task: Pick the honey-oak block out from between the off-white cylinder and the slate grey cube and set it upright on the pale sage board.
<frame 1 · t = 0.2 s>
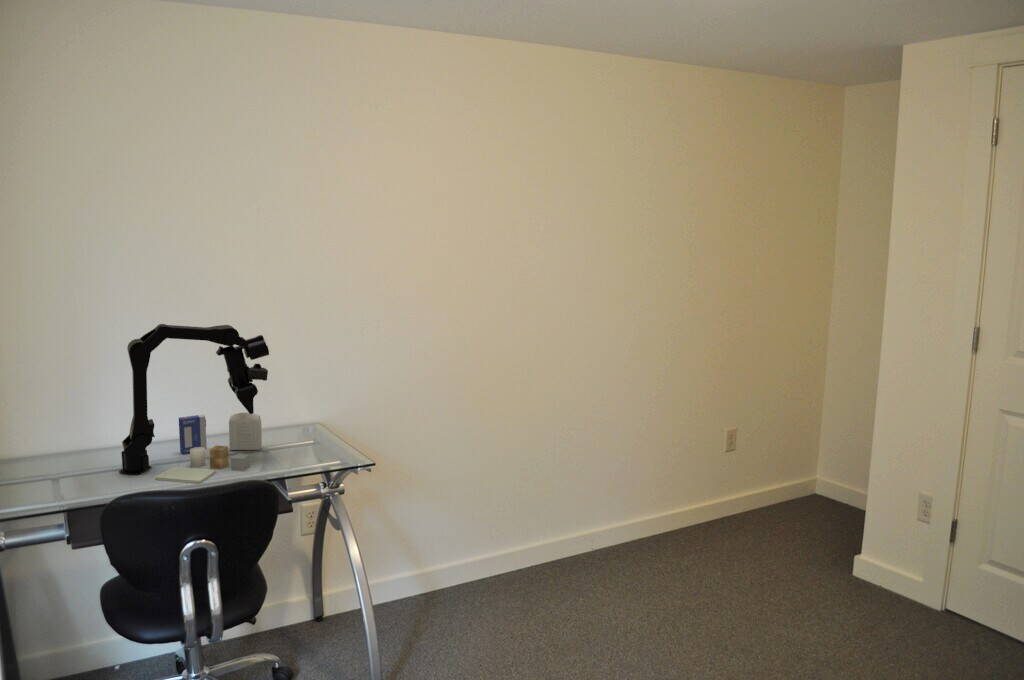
hand: (249, 409, 241), 15 cm above the table, tool pointing down, fingers open, 9 cm apart
grey cube: (240, 468, 232), on the table
oak block: (219, 466, 233), on the table
walkman: (193, 451, 245), on the table
white cylinder: (198, 464, 234), on the table
sage board: (186, 476, 223), on the table
photo printer: (245, 449, 249), on the table
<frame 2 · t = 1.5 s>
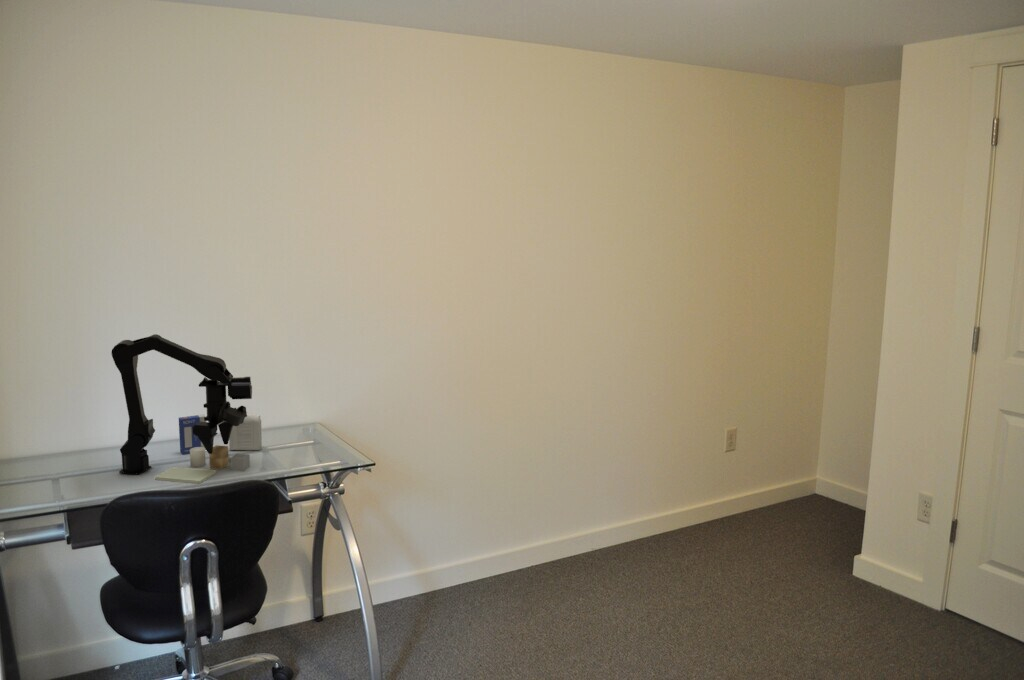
hand: (218, 448, 232), 6 cm above the table, tool pointing down, fingers open, 9 cm apart
nothing on the table moved.
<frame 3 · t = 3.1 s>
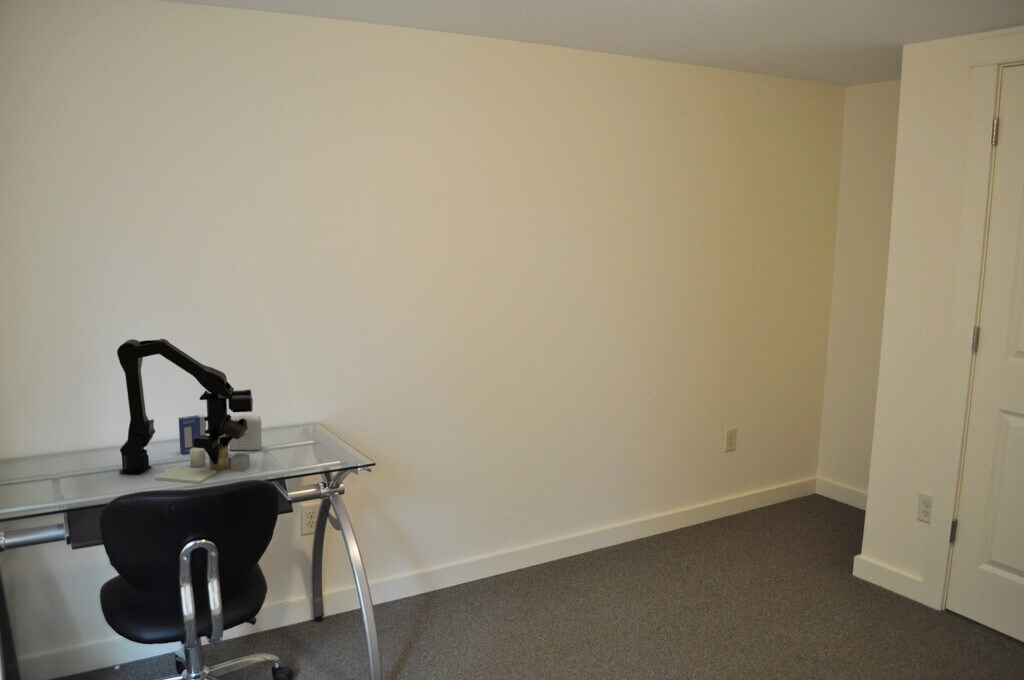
hand: (219, 461, 232), 2 cm above the table, tool pointing down, fingers closed on oak block, 4 cm apart
oak block: (219, 466, 233), on the table, touching gripper
everything else where it was.
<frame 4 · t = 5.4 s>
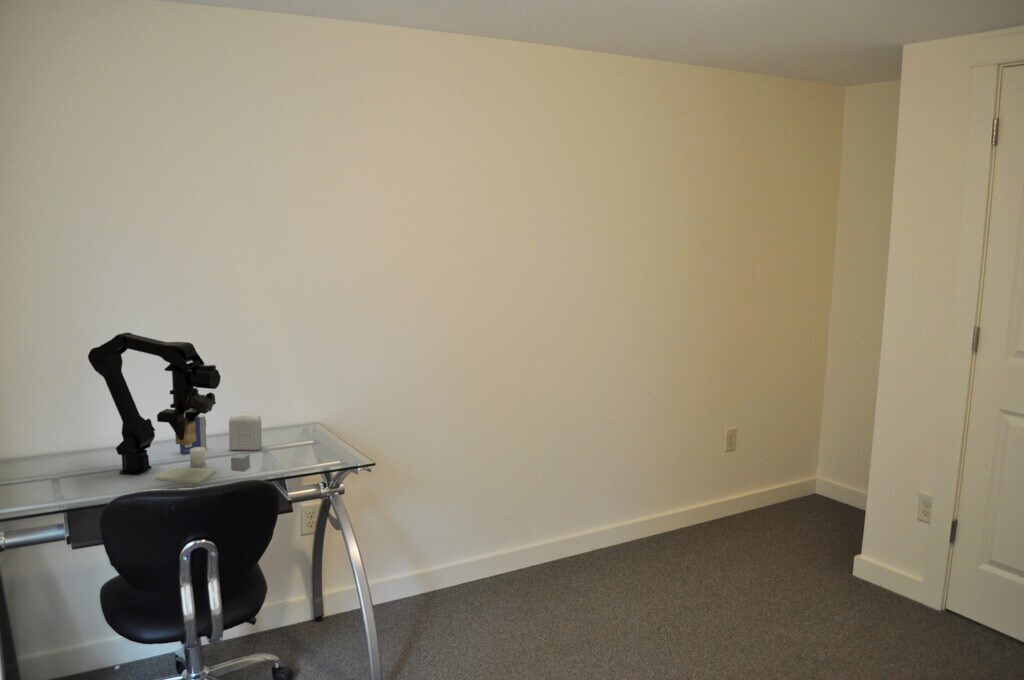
hand: (185, 437, 222), 12 cm above the table, tool pointing down, fingers closed on oak block, 4 cm apart
oak block: (185, 442, 222), point 10 cm above the table, touching gripper
everything else where it was.
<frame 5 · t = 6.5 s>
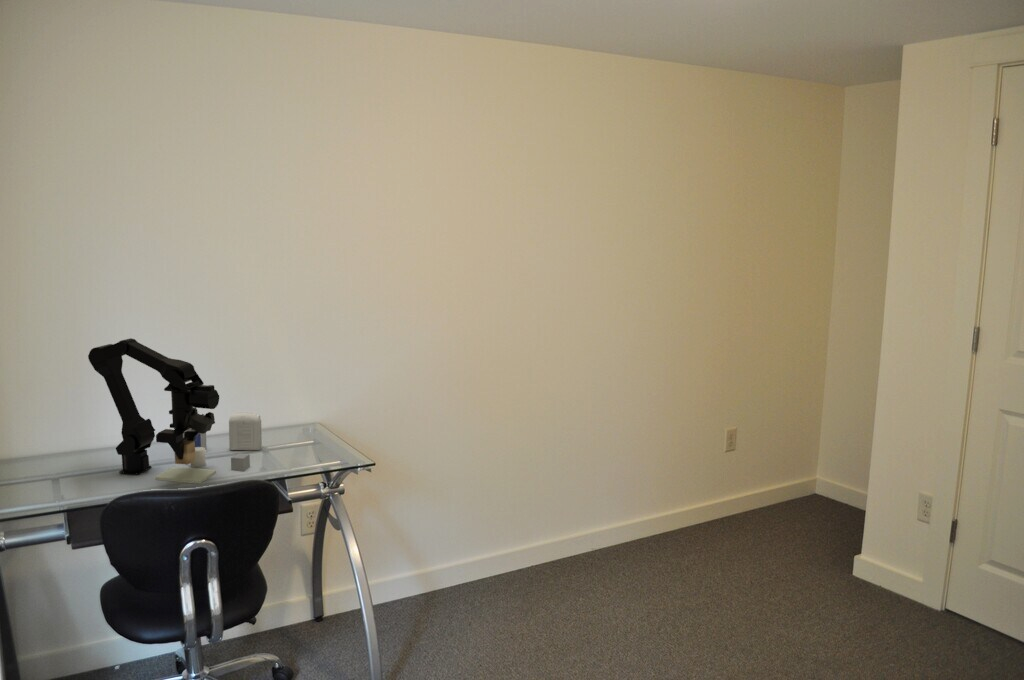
hand: (184, 456, 222), 6 cm above the table, tool pointing down, fingers closed on oak block, 4 cm apart
oak block: (185, 461, 223), point 4 cm above the table, touching gripper
everything else where it was.
when the fingers open (4 cm above the table, at t = 7.7 s): oak block drops 1 cm, resting on sage board.
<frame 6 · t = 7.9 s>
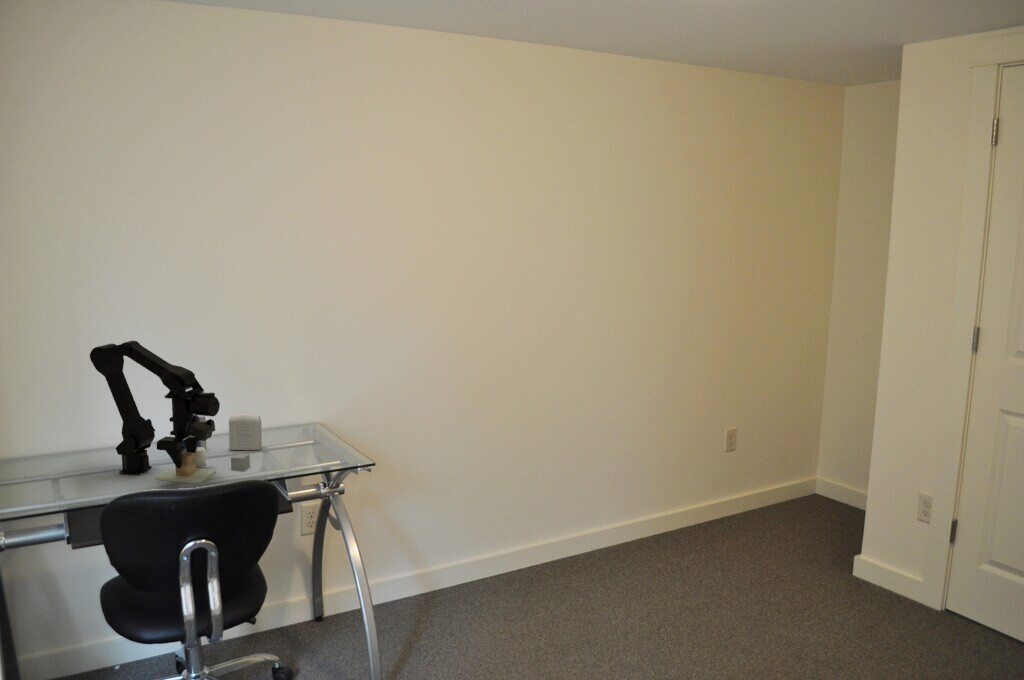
hand: (185, 464, 223), 4 cm above the table, tool pointing down, fingers open, 6 cm apart
oak block: (186, 473, 223), point 1 cm above the table, touching sage board
everything else where it was.
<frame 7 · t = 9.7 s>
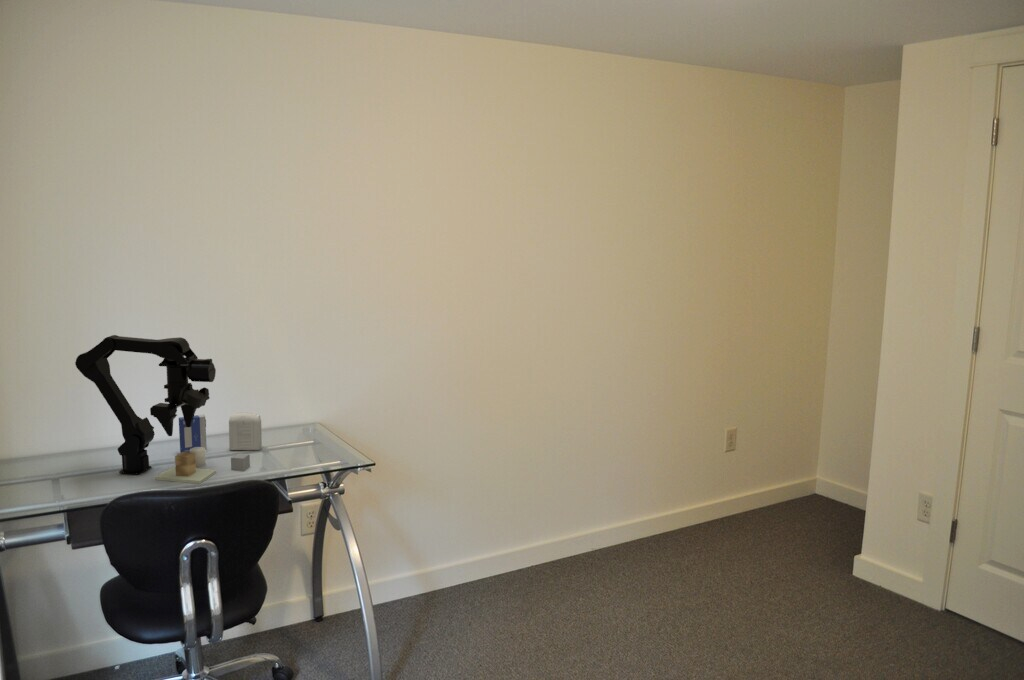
hand: (179, 431, 225), 13 cm above the table, tool pointing down, fingers open, 9 cm apart
nothing on the table moved.
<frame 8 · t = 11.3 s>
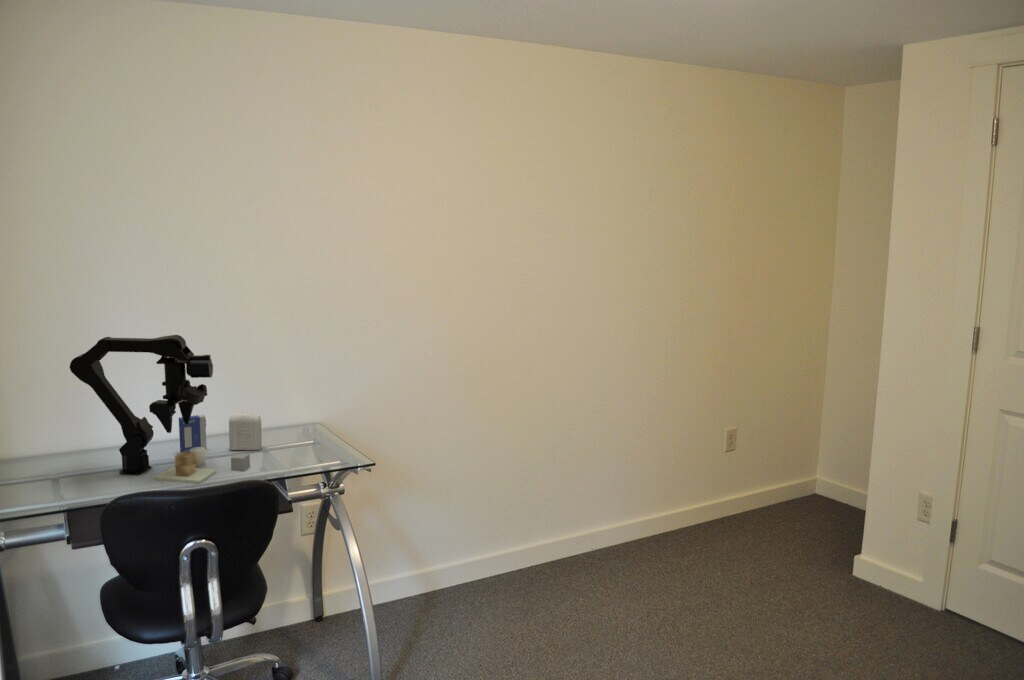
hand: (178, 428, 227), 13 cm above the table, tool pointing down, fingers open, 9 cm apart
nothing on the table moved.
at the end: oak block inside the target area on the sage board (0.0 cm from its centre), point 0.8 cm above the sage board's base; oak block tilted 0°; the gripper is holding nothing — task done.
